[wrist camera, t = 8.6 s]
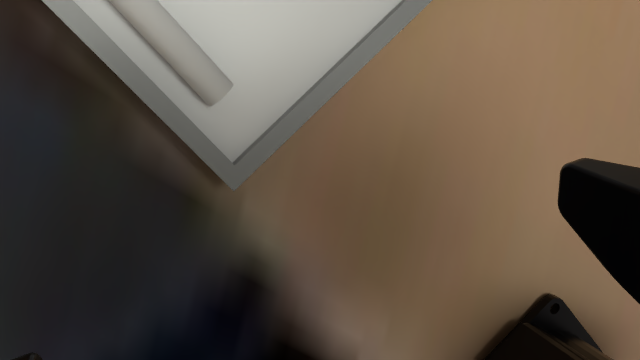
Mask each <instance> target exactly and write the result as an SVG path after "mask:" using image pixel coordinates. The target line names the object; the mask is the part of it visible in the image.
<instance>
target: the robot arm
mask: <svg viewBox="0 0 640 360" xmlns="http://www.w3.org/2000/svg"><path fill="white" fill-rule="evenodd" d="M558 208H559V210H560V213H561V214H562V216H563V217H564V219H565V220H566V221H567V222H568V223H569V225H570V226H571V227H572V228H573V230H574V231H575V232H576V233H577V234H578V236H579V237H580V238H581V239H582V240H583V242H584V243H585V244H586V245H587V247H588V248H589V249H590V250H591V251H592V253H593V254H594V255H595V256H596V258H597V259H598V260H599V261H600V262H601V264H602V265H603V266H604V267H605V268H606V270H607V271H608V272H609V273H610V274H611V275H612V276H613V278H614V279H615V280H616V281H617V282H618V283H619V284H620V285H621V286H622V287H623V288H624V289H625V290H626V291H627V292H628V293H629V294H630V295H631V296H632V297H633V298H634V299H635V300H636V301H637V302H638V303H639V304H640V168H638V167H632V166H627V165H622V164H616V163H611V162H605V161H600V160H594V159H589V158H581V159H578V160H575V161H573V162H570V163H567V164H565V165H564V166H563V167H562V169H561V171H560V181H559V192H558ZM552 305H553V307H552V308H551V306H552ZM550 308H551V309H550ZM12 360H43V359H42V358H41V356H40V355H38V354H37V353H33V352H32V353H29V354H26V355H23V356H20V357H17V358H15V359H12ZM485 360H613V359H611V358H610V357H608V356H607V355H605V354H604V353H603V352H602V351H601V350H600V348H599V347H598V346H597V344H596V343H595V342H594V340H593V339H592V338H591V337H590V335H589V334H588V333H587V331H586V330H585V329H584V327H583V326H582V325H581V324H580V322H579V321H578V320H577V318H576V317H575V316H574V315H573V313H572V312H571V311H570V309H569V308H568V307H567V305H566V304H565V303H564V302H563V300H561V299H560V298H558V297H557V296H555V295H551V294H550V295H547V296H545V297H544V298H543V299H542V300H541V301H540V302H539V303H538V304H537V305H536V306H535V307H534V308H533V309H532V310H531V311H530V312H529V313H528V315H527V316H526V317H525V318H524V319H523V320H522V321H521V322H520V323H519V324H518V325H517V326H516V327H515V328H514V329H513V330H512V331H511V332H510V333H509V334H508V335H507V336H506V338H505V339H504V340H503V341H502V342H501V343H500V344H499V345H498V346H497V347H496V348H495V349H494V350H493V351H492V352H491V353H490V354H489V355H488V356H487V357H486V358H485Z"/></svg>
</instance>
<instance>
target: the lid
mask: <svg viewBox="0 0 640 360" xmlns="http://www.w3.org/2000/svg"><path fill="white" fill-rule="evenodd" d="M42 1H43V2H44V3H45V4H46V5H47V6H48V7H49V8H50V9H51V10H52V11H53V12H54V13H55V14H56V15H57V16H58V17H59V18H60V19H61V20H62V21H63V22H64V23H65V24H66V25H67V26H68V27H69V28H70V29H71V30H72V31H73V32H74V33H75V34H76V35H77V36H78V37H79V38H80V39H81V40H82V41H83V42H84V43H85V44H86V45H87V46H88V47H89V48H90V49H91V50H92V51H93V52H94V53H95V54H96V55H97V56H98V57H99V58H100V59H101V60H102V61H103V62H104V63H105V64H106V65H107V66H108V67H109V68H110V69H111V70H112V71H113V72H114V73H115V74H116V75H117V76H118V77H119V78H120V79H121V80H122V81H123V82H124V83H125V84H126V85H127V86H128V87H129V88H130V89H131V90H132V91H133V92H134V93H135V94H136V95H137V96H138V97H139V98H140V99H141V100H142V101H143V102H144V103H145V104H146V105H147V106H148V107H149V108H150V109H151V110H152V111H153V112H155V113H156V114H157V115H158V116H159V117H160V118H161V119H162V120H163V121H164V122H165V123H166V124H167V125H168V126H169V127H170V128H171V129H172V130H173V131H174V132H175V133H176V134H177V135H178V136H179V137H180V138H181V139H182V140H183V141H184V142H185V143H186V144H187V145H188V146H189V147H190V148H191V149H192V150H193V151H194V152H195V153H196V154H197V155H198V156H199V157H200V158H201V159H202V160H203V161H204V162H205V163H206V164H207V165H208V166H209V167H210V168H211V169H212V170H213V171H214V172H215V173H216V174H217V175H218V176H219V177H220V178H221V179H222V180H223V181H224V182H225V183H226V184H227V185H228V186H229V187H230V188H231V189H232V190H233V191H235V190H236V189H237V188H238V187H239V186H240V185H241V184H242V183H243V182H244V181H245V180H246V179H247V178H248V177H249V176H250V175H251V174H252V173H253V172H255V171H256V170H257V169H258V168H259V167H260V166H261V165H262V164H263V163H264V162H265V161H266V160H267V159H268V158H269V157H270V156H271V155H272V154H273V153H274V152H275V151H276V150H277V149H278V148H279V147H280V146H282V145H283V144H284V143H285V142H286V141H287V140H288V139H289V138H290V137H291V136H292V135H293V134H294V133H295V132H296V131H297V130H298V129H299V128H300V127H301V126H302V125H303V124H304V123H305V122H306V121H307V120H309V119H310V118H311V117H312V116H313V115H314V114H315V113H316V112H317V111H318V110H319V109H320V108H321V107H322V106H323V105H324V104H325V103H326V102H327V101H328V100H329V99H330V98H331V97H332V96H333V95H334V94H335V93H337V92H338V91H339V90H340V89H341V88H342V87H343V86H344V85H345V84H346V83H347V82H348V81H349V80H350V79H351V78H352V77H353V76H354V75H355V74H356V73H357V72H358V71H359V70H360V69H361V68H362V67H364V66H365V65H366V64H367V63H368V62H369V61H370V60H371V59H372V58H373V57H374V56H375V55H376V54H377V53H378V52H379V51H380V50H381V49H382V48H383V47H384V46H385V45H386V44H387V43H388V42H389V41H391V40H392V39H393V38H394V37H395V36H396V35H397V34H398V33H399V32H400V31H401V30H402V29H403V28H404V27H405V26H406V25H407V24H408V23H409V22H410V21H411V20H412V19H413V18H414V17H415V16H416V15H418V14H419V13H420V12H421V11H422V10H423V9H424V8H425V7H426V6H427V5H428V4H429V3H430V2H431V1H432V0H42Z"/></svg>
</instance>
